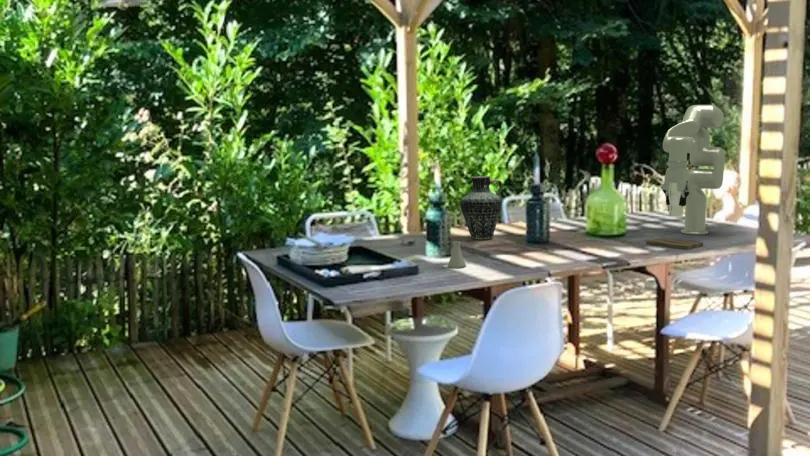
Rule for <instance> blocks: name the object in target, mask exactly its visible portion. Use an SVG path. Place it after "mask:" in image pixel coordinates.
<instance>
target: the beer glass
mask: <svg viewBox="0 0 810 456" xmlns="http://www.w3.org/2000/svg"><path fill="white" fill-rule="evenodd" d="M668 197H669V204H670V205H669V211H668V216H670V217H683V215H684V214H683V206H681V197H682V195H681V191H677V183H673V182H670V186H669V190H668Z"/></svg>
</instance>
